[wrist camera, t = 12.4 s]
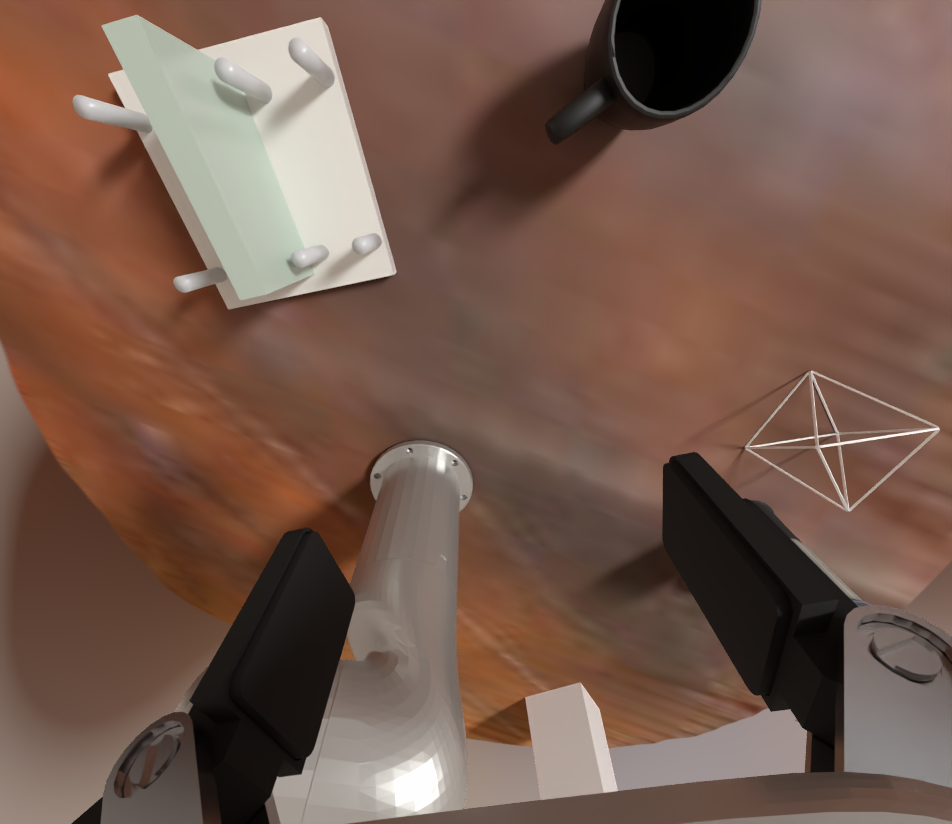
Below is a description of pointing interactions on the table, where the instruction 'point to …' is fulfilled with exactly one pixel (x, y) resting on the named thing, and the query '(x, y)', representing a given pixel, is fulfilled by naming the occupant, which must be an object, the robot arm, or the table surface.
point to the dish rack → (283, 158)
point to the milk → (569, 744)
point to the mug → (657, 62)
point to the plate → (213, 155)
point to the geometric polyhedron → (817, 446)
